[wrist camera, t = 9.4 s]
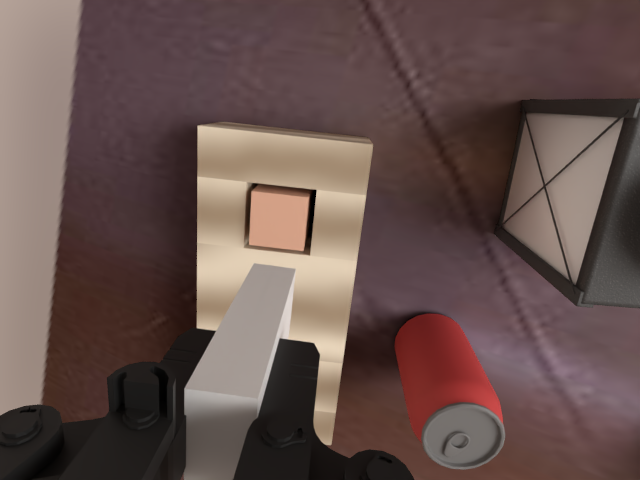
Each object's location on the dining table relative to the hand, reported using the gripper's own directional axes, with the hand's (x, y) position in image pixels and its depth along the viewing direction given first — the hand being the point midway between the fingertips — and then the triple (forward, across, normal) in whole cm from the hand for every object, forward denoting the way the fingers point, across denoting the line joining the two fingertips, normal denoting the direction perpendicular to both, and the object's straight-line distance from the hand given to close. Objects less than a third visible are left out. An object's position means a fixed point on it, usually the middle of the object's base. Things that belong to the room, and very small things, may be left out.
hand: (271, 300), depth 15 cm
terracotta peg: (+21, -2, -2) cm, 21 cm away
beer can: (+21, +12, -14) cm, 28 cm away
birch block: (+21, -2, -9) cm, 23 cm away
